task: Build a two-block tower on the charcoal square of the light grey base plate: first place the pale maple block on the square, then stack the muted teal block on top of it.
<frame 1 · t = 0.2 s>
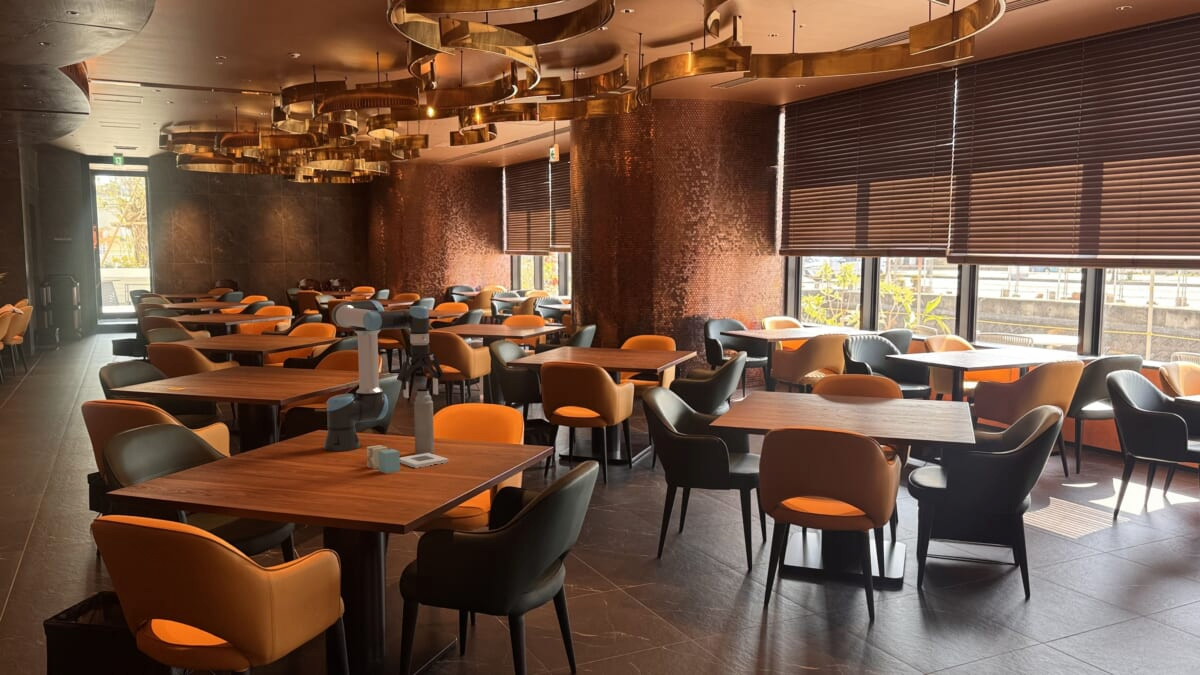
hand: (421, 395, 367), 27 cm above the table, tool pointing down, fingers open, 13 cm apart
base plate: (422, 462, 369), on the table
maple block: (377, 466, 362), on the table
thermos bottle: (424, 453, 387), on the table
teal block: (389, 471, 354), on the table
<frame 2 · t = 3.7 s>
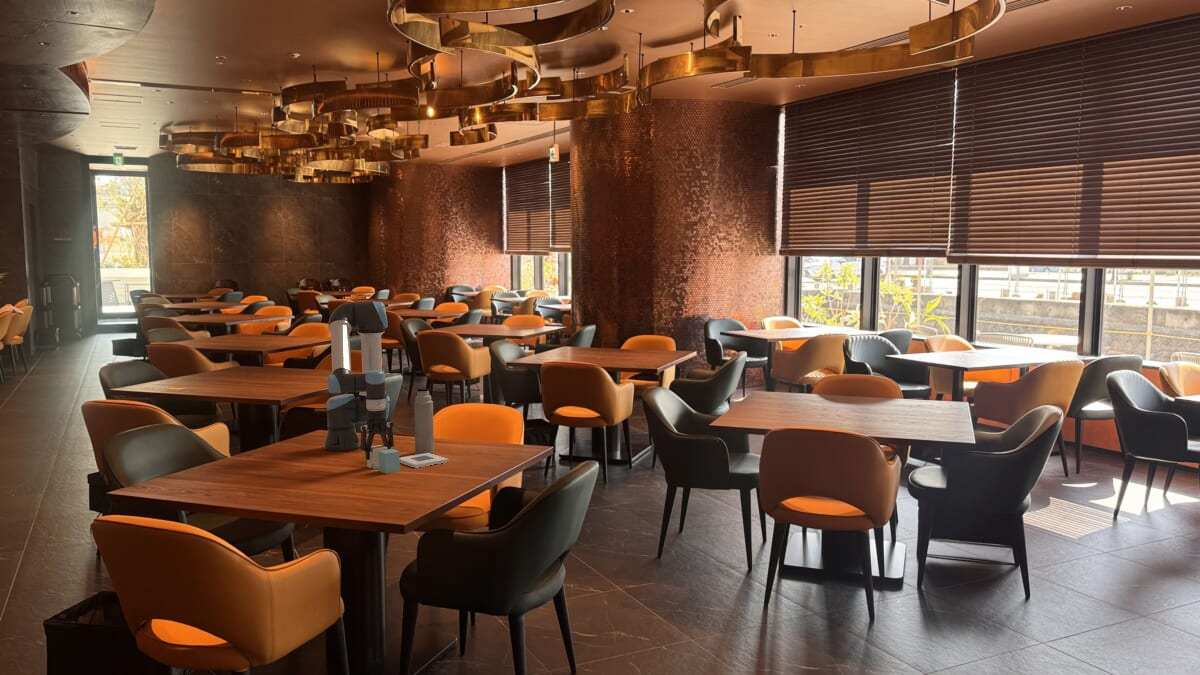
hand: (377, 466, 361), 0 cm above the table, tool pointing down, fingers closed on maple block, 6 cm apart
maple block: (377, 466, 362), on the table, touching gripper
everything else where it was.
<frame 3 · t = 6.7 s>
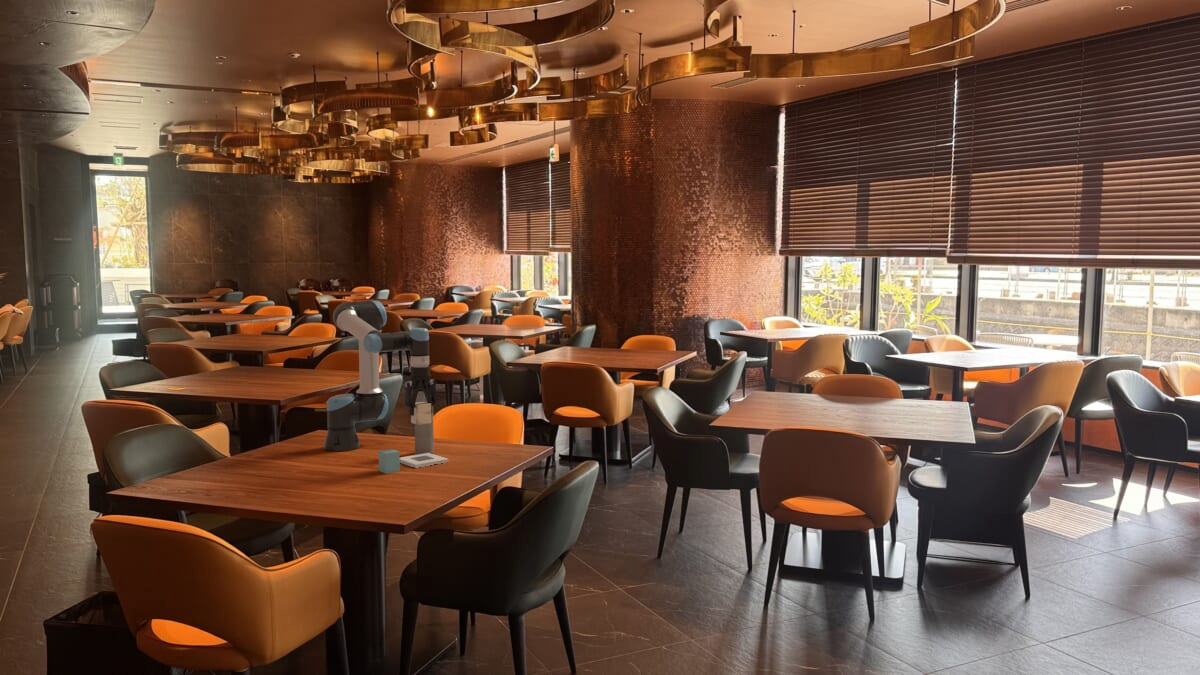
hand: (421, 422, 368), 17 cm above the table, tool pointing down, fingers closed on maple block, 6 cm apart
maple block: (421, 422, 368), point 16 cm above the table, touching gripper
everything else where it was.
when the fingers open (3 cm above the table, at t = 9.4 s): maple block drops 1 cm, resting on base plate.
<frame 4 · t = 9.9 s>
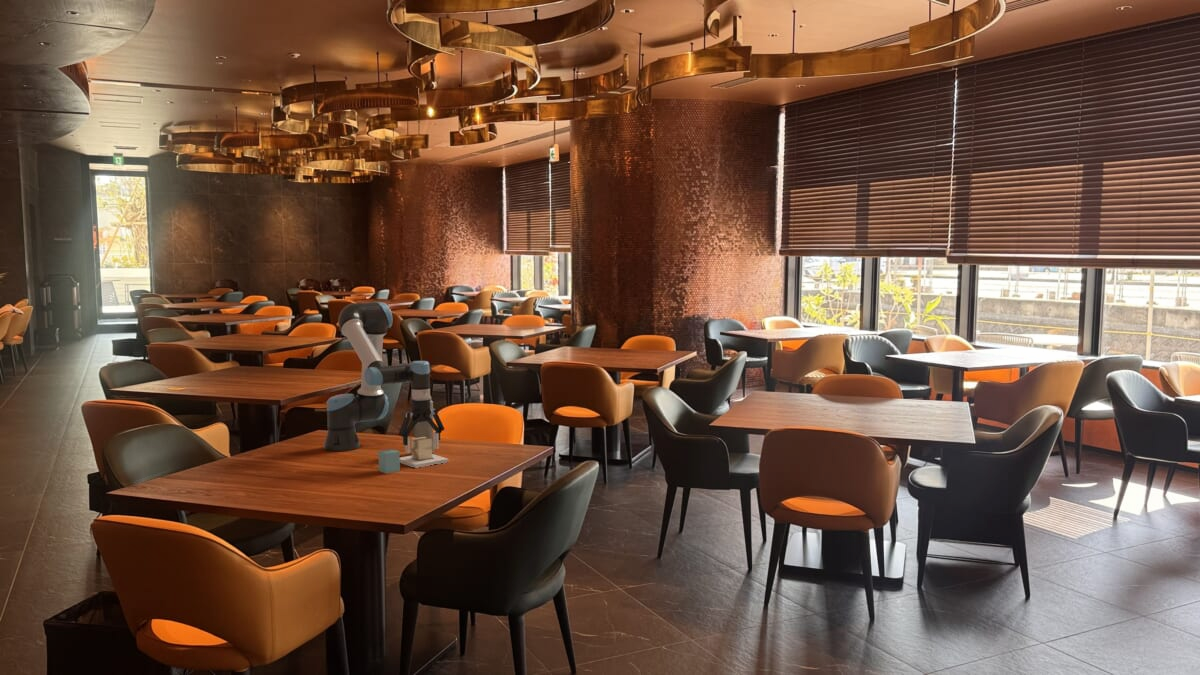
hand: (422, 450, 369), 5 cm above the table, tool pointing down, fingers open, 13 cm apart
maple block: (422, 458, 369), point 2 cm above the table, touching base plate
everything else where it was.
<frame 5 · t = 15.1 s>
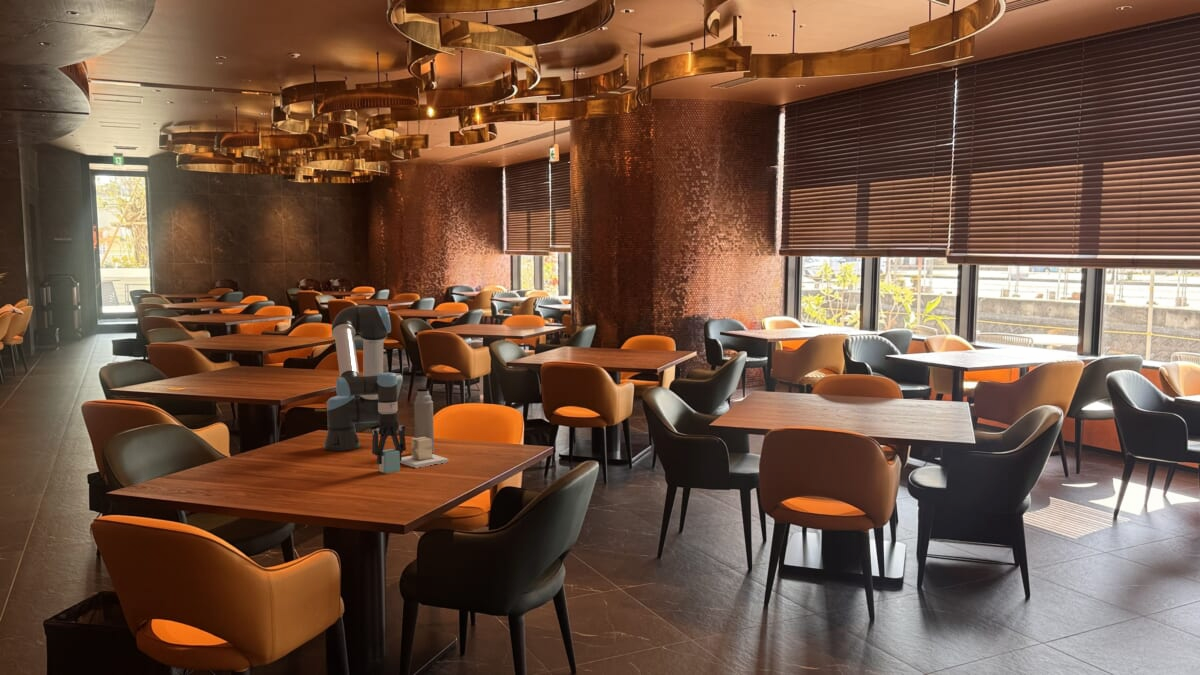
hand: (389, 470, 354), 0 cm above the table, tool pointing down, fingers closed on teal block, 6 cm apart
teal block: (389, 471, 354), on the table, touching gripper
everything else where it was.
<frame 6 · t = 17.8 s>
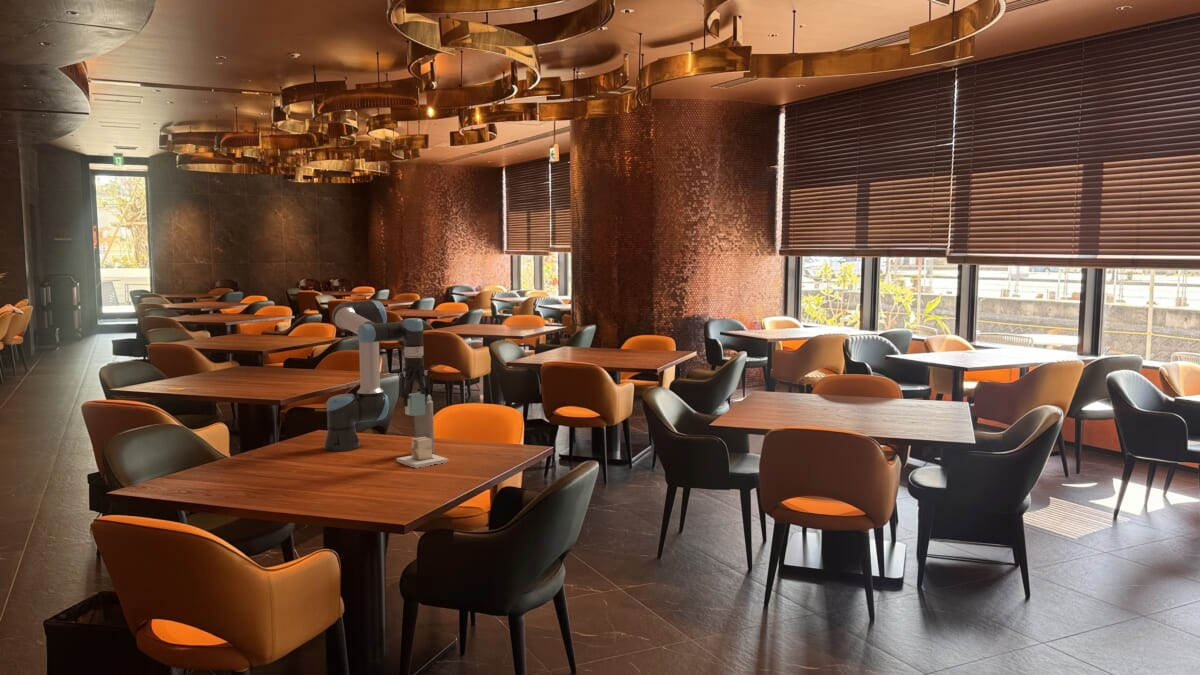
hand: (415, 413, 365), 21 cm above the table, tool pointing down, fingers closed on teal block, 6 cm apart
teal block: (415, 414, 365), point 20 cm above the table, touching gripper
everything else where it was.
when the fingers open (11 cm above the table, at t = 20.8 s): teal block stays where it is, resting on maple block.
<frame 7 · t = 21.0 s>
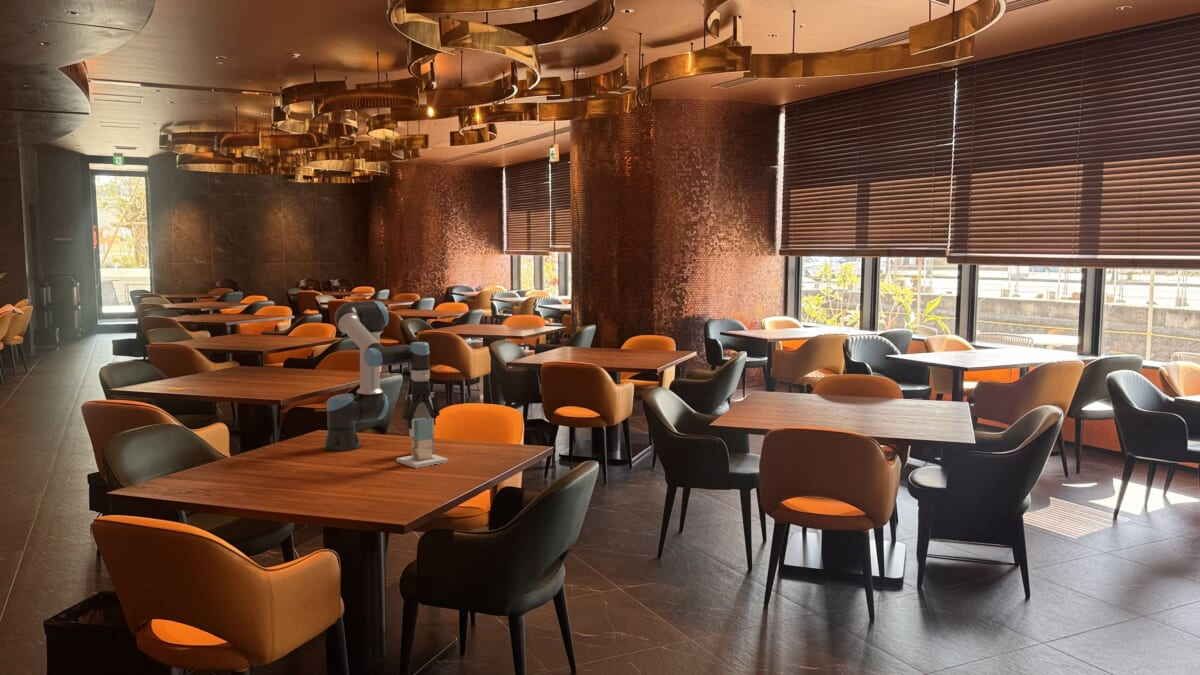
hand: (421, 434, 368), 11 cm above the table, tool pointing down, fingers open, 8 cm apart
maple block: (422, 458, 369), point 2 cm above the table, touching base plate, teal block
teal block: (421, 438, 368), point 10 cm above the table, touching maple block
everything else where it was.
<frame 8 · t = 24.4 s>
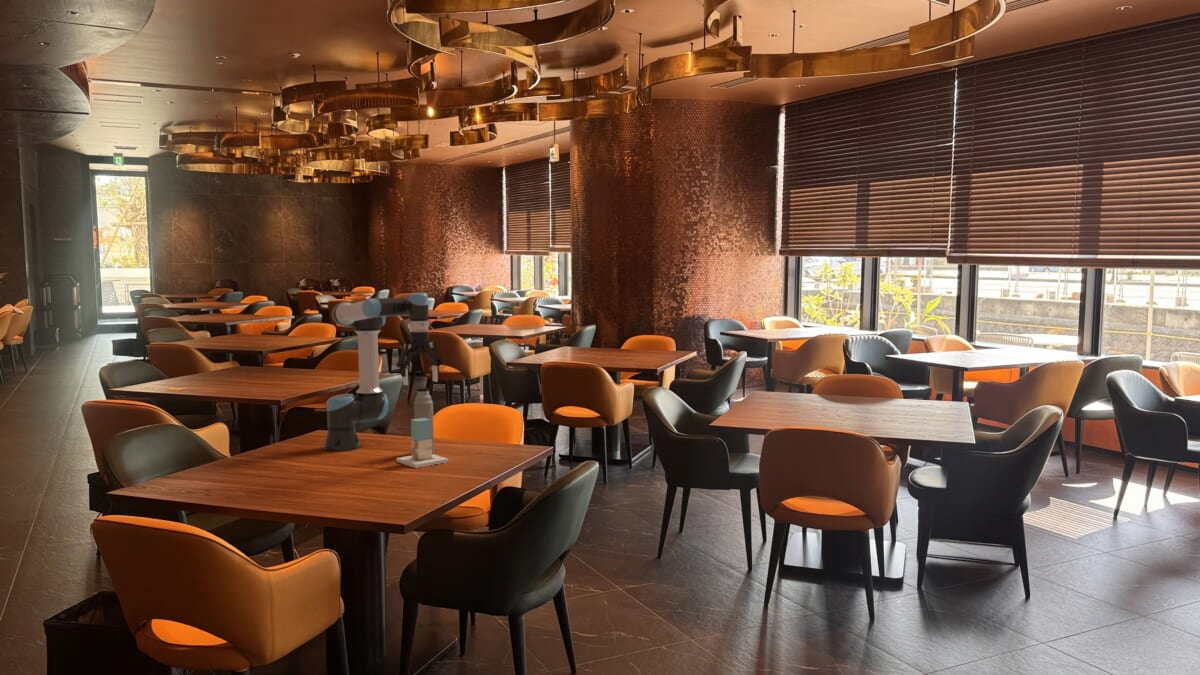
hand: (420, 383, 366), 33 cm above the table, tool pointing down, fingers open, 13 cm apart
nothing on the table moved.
at the end: maple block 0.2 cm off-centre on the base plate, point 1.6 cm above the base plate's base; teal block 0.2 cm off-centre on the base plate, point 9.6 cm above the base plate's base; teal block tilted 0° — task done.
